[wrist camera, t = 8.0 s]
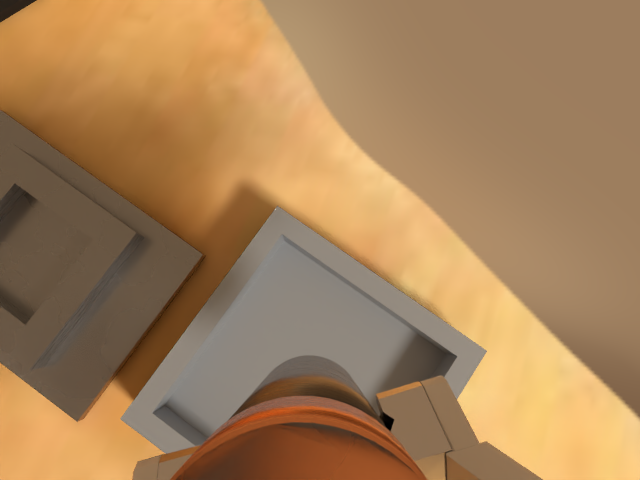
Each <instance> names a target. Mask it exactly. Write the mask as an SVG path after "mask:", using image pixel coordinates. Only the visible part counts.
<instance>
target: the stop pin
mask: <svg viewBox="0 0 640 480" xmlns="http://www.w3.org/2000/svg"><path fill="white" fill-rule="evenodd" d="M170 480H427V478H426V477H425V475H424V474H423V473H422V471H421V470H420V469H419V467H418V466H417V464H416V463H415V462H414V460H413V459H412V457H411V456H410V455H409V453H408V452H407V451H406V449H405V448H404V446H403V445H402V444H401V443H400V442H399V440H398V439H397V438H396V437H395V436H394V435H393V434H392V433H391V432H390V431H389V430H388V429H387V428H386V426H385V425H384V423H383V422H382V420H381V419H380V417H379V416H378V415H377V413H376V412H375V410H374V409H373V407H372V406H371V404H370V403H369V402H368V400H367V399H366V397H365V396H364V394H363V393H362V391H361V390H360V389H359V387H358V386H357V384H356V383H355V381H354V380H353V378H352V377H351V376H350V374H349V373H348V372H347V371H346V370H345V369H344V368H342V367H341V366H340V365H339V364H337V363H335V362H334V361H332V360H329V359H327V358H324V357H320V356H314V355H305V356H298V357H294V358H291V359H289V360H286V361H285V362H283V363H281V364H280V365H278V366H277V367H276V368H274V369H273V370H272V371H271V372H270V373H269V374H268V376H267V377H266V378H265V379H264V380H263V381H262V382H261V383H260V385H259V386H258V387H257V388H256V389H255V390H254V391H253V393H252V394H251V395H250V396H249V397H248V398H247V399H246V400H245V402H244V403H243V404H242V405H241V406H240V407H239V408H238V410H237V411H236V412H235V413H234V414H233V415H232V416H231V418H230V419H229V420H228V421H227V422H225V423H224V424H223V425H221V426H220V427H219V428H218V429H217V430H216V431H215V432H214V433H213V434H212V435H211V436H210V437H208V438H207V439H206V440H205V442H204V443H203V444H202V445H201V446H200V447H199V448H198V449H197V450H196V451H195V452H194V454H193V455H192V456H191V457H190V458H189V459H188V460H187V461H186V462H185V463H184V464H183V465H182V467H181V468H180V469H179V470H178V471H177V472H176V473H175V474H174V475H173V476H172V478H171V479H170Z"/></svg>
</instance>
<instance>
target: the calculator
mask: <svg viewBox="0 0 640 480" xmlns="http://www.w3.org/2000/svg"><path fill="white" fill-rule="evenodd" d="M34 1H36V0H0V22H2V21H3V20H5V19H7V18H8V17H10V16H11V15H13V14H15V13H16V12H18V11H20V10H21V9H23V8H25V7H26V6H28V5H30V4H31V3H33V2H34Z"/></svg>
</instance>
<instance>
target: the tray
mask: <svg viewBox="0 0 640 480" xmlns="http://www.w3.org/2000/svg"><path fill="white" fill-rule="evenodd" d="M486 352H487V351H486V350H485V349H483V348H482V347H481V346H479V345H478V344H476V343H475V342H473V341H472V340H470V339H469V338H468V337H466V336H465V335H463V334H462V333H460V332H459V331H457V330H456V329H455V328H453V327H452V326H450V325H449V324H447V323H446V322H444V321H443V320H442V319H440V318H439V317H437V316H436V315H434V314H433V313H431V312H430V311H429V310H427V309H426V308H424V307H423V306H421V305H420V304H418V303H417V302H416V301H414V300H413V299H411V298H410V297H408V296H407V295H405V294H404V293H403V292H401V291H400V290H398V289H397V288H395V287H394V286H392V285H391V284H390V283H388V282H387V281H385V280H384V279H382V278H381V277H379V276H378V275H377V274H375V273H374V272H372V271H371V270H369V269H368V268H366V267H365V266H364V265H362V264H361V263H359V262H358V261H356V260H355V259H353V258H352V257H351V256H349V255H348V254H346V253H345V252H343V251H342V250H340V249H339V248H338V247H336V246H335V245H333V244H332V243H330V242H329V241H327V240H326V239H325V238H323V237H322V236H320V235H319V234H317V233H316V232H314V231H313V230H312V229H310V228H309V227H307V226H306V225H304V224H303V223H301V222H300V221H299V220H297V219H296V218H294V217H293V216H291V215H290V214H288V213H287V212H286V211H284V210H283V209H281V208H280V207H278V206H277V207H276V208H275V210H274V211H273V212H272V214H271V215H270V217H269V218H268V219H267V221H266V222H265V223H264V225H263V226H262V227H261V229H260V230H259V231H258V233H257V234H256V235H255V237H254V238H253V240H252V241H251V242H250V244H249V245H248V246H247V248H246V249H245V250H244V252H243V253H242V254H241V256H240V257H239V259H238V260H237V261H236V263H235V264H234V265H233V267H232V268H231V269H230V271H229V272H228V273H227V275H226V276H225V278H224V279H223V280H222V282H221V283H220V284H219V286H218V287H217V288H216V290H215V291H214V292H213V294H212V295H211V297H210V298H209V299H208V301H207V302H206V303H205V305H204V306H203V307H202V309H201V310H200V311H199V313H198V314H197V315H196V317H195V318H194V320H193V321H192V322H191V324H190V325H189V326H188V328H187V329H186V330H185V332H184V333H183V334H182V336H181V337H180V339H179V340H178V341H177V343H176V344H175V345H174V347H173V348H172V349H171V351H170V352H169V353H168V355H167V356H166V358H165V359H164V360H163V362H162V363H161V364H160V366H159V367H158V368H157V370H156V371H155V372H154V374H153V375H152V377H151V378H150V379H149V381H148V382H147V383H146V385H145V386H144V387H143V389H142V390H141V391H140V393H139V394H138V396H137V397H136V398H135V400H134V401H133V402H132V404H131V405H130V406H129V408H128V409H127V410H126V412H125V413H124V414H123V416H122V417H121V420H122V421H124V422H125V423H126V424H128V425H129V426H130V427H132V428H133V429H134V430H135V431H137V432H138V433H139V434H141V435H142V436H143V437H145V438H146V439H147V440H149V441H150V442H151V443H153V444H154V445H155V446H156V447H158V448H159V449H160V450H162V451H163V452H164V453H166V454H167V453H171V452H175V451H178V450H182V449H186V448H189V447H193V446H197V445H200V444H203V443H204V442H205V440H206V439H207V438H208V437H210V436H211V435H212V434H213V433H214V432H215V431H216V430H217V429H218V428H219V427H220V426H221V425H223V424H224V423H225V422H227V421H228V420H229V419H230V418H231V416H232V415H233V414H234V413H235V412H236V411H237V410H238V408H239V407H240V406H241V405H242V404H243V403H244V402H245V400H246V399H247V398H248V397H249V396H250V395H251V394H252V393H253V391H254V390H255V389H256V388H257V387H258V386H259V385H260V383H261V382H262V381H263V380H264V379H265V378H266V377H267V376H268V374H269V373H270V372H271V371H272V370H273V369H274V368H276V367H277V366H278V365H280V364H281V363H283V362H285V361H286V360H289V359H291V358H294V357H298V356H305V355H314V356H320V357H324V358H327V359H329V360H332V361H334V362H335V363H337V364H339V365H340V366H341V367H342V368H344V369H345V370H346V371H347V372H348V373H349V374H350V376H351V377H352V378H353V380H354V381H355V383H356V384H357V386H358V387H359V389H360V390H361V391H362V393H363V394H364V396H365V397H366V399H367V400H368V402H369V403H370V404H371V406H372V407H373V409H374V410H375V412H376V413H377V415H378V416H379V415H380V412H379V409H378V406H377V402H376V394H378V393H381V392H385V391H388V390H391V389H395V388H398V387H401V386H404V385H408V384H411V383H414V382H418V381H419V382H420V381H424V380H427V379H430V378H433V377H437V376H440V375H441V376H443V377H444V378H445V379H446V380H447V382H448V384H449V386H450V388H451V390H452V392H453V393H454V395H455V397H456V399H457V398H458V397H459V395H460V394H461V392H462V390H463V389H464V387H465V386H466V384H467V382H468V381H469V379H470V378H471V376H472V374H473V373H474V371H475V369H476V368H477V366H478V365H479V363H480V361H481V360H482V358H483V357H484V355H485V353H486Z"/></svg>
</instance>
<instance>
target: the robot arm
mask: <svg viewBox="0 0 640 480" xmlns="http://www.w3.org/2000/svg"><path fill="white" fill-rule="evenodd" d="M376 402H377V406H378V409H379V412H380V415H379V417H380V419H381V420H382V422H383V423H384V425H385V426H386V428H387V429H388V430H389V431H390V432H391V433H392V434H393V435H394V436H395V437H396V438H397V439H398V440H399V442H400V443H401V444H402V445H403V446H404V448H405V449H406V451H407V452H408V453H409V455H410V456H411V457H412V459H413V460H414V462H415V463H416V464H417V466H418V467H419V469H420V470H421V471H422V473H423V474H424V475H425V477H426V478H427V480H543V479H541V478H540V477H538V476H537V475H535V474H534V473H532V472H531V471H529V470H528V469H526V468H525V467H523V466H522V465H520V464H519V463H517V462H516V461H514V460H513V459H512V458H510V457H509V456H507V455H506V454H504V453H503V452H501V451H500V450H498V449H497V448H495V447H494V446H492V445H491V444H489V443H488V442H482V443H479V441H478V439H477V438H476V436H475V434H474V432H473V430H472V428H471V426H470V424H469V422H468V420H467V418H466V416H465V415H464V413H463V411H462V409H461V407H460V405H459V403H458V401H457V399H456V397H455V395H454V393H453V392H452V390H451V388H450V386H449V384H448V382H447V380H446V379H445V378H444V377H443V376H441V375H440V376H437V377H433V378H430V379H427V380H424V381H420V382H419V381H418V382H414V383H411V384H408V385H404V386H401V387H398V388H395V389H391V390H388V391H385V392H381V393H378V394H376ZM201 445H202V444H200V445H197V446H193V447H189V448H186V449H182V450H178V451H175V452H171V453H167V454H162V455H159V456H155V457H152V458H149V459H145V460H142V461H138V462H137V464H136V467H135V469H134V472H133V479H132V480H170V479H171V478H172V476H173V475H174V474H175V473H176V472H177V471H178V470H179V469H180V468H181V467H182V465H183V464H184V463H185V462H186V461H187V460H188V459H189V458H190V457H191V456H192V455H193V454H194V452H195V451H196V450H197V449H198V448H199V447H200V446H201Z"/></svg>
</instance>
